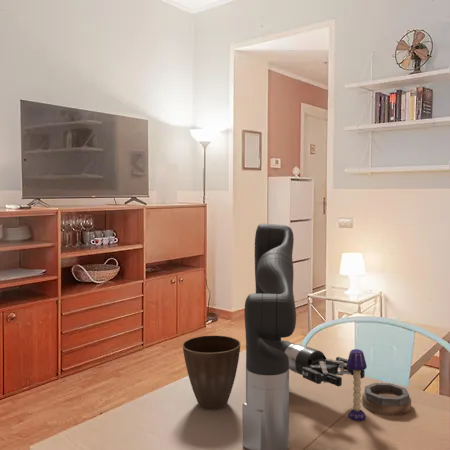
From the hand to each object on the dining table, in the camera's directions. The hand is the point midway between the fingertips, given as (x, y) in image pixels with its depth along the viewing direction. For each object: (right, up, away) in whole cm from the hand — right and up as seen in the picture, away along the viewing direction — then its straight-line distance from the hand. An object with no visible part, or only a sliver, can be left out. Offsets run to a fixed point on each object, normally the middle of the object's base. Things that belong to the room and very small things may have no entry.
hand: (352, 378), depth 124 cm
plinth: (+10, -9, +7) cm, 15 cm away
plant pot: (-34, -9, +8) cm, 37 cm away
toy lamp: (+1, -10, 0) cm, 10 cm away
